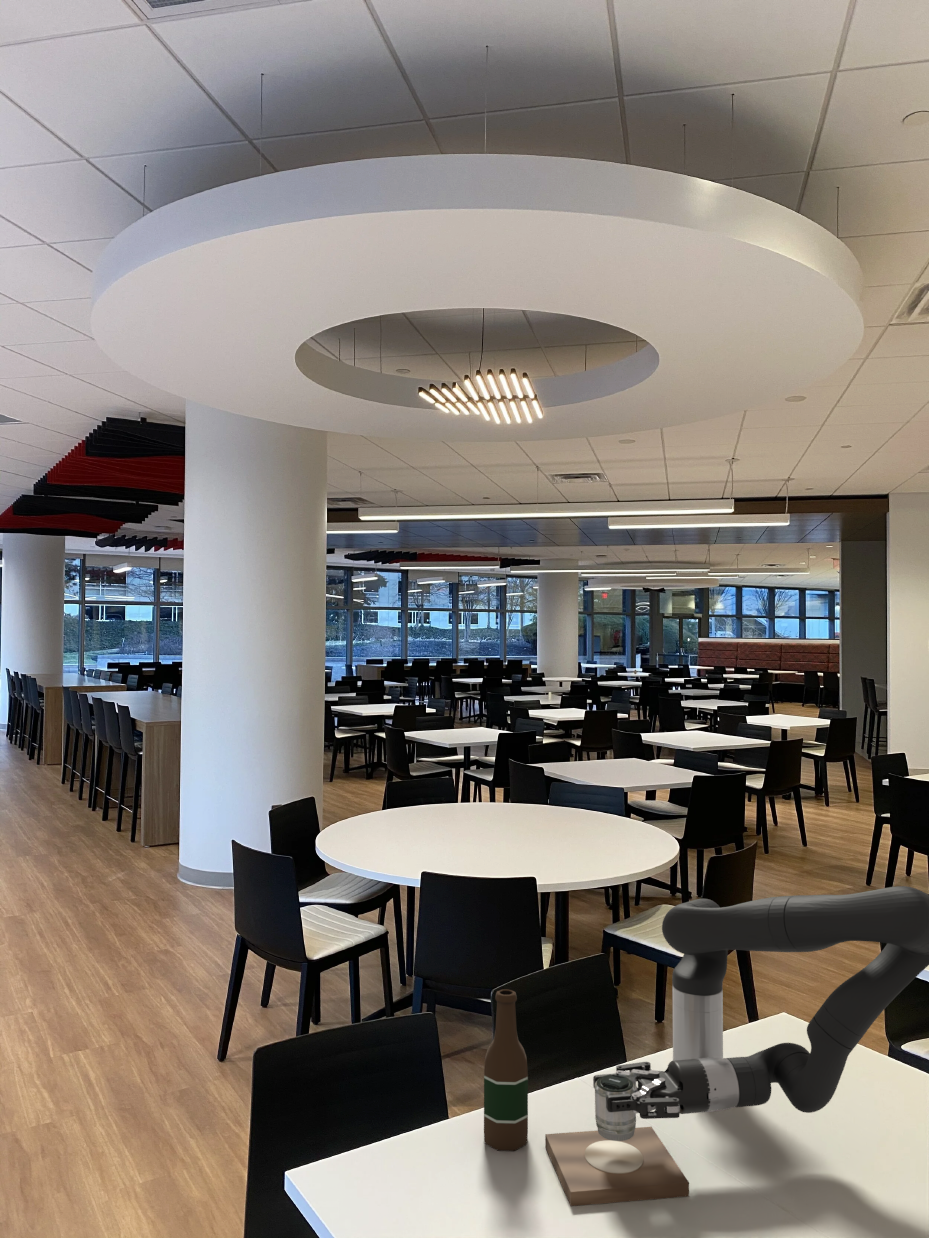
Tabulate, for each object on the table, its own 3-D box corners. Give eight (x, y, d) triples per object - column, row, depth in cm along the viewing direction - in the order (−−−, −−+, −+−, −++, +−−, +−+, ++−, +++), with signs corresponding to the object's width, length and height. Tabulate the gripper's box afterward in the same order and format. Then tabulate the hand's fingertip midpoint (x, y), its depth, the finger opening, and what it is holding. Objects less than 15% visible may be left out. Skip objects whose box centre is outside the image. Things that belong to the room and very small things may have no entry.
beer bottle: (536, 1133, 150) (536, 987, 151) (519, 1157, 143) (519, 1003, 144) (493, 1123, 154) (493, 980, 155) (474, 1145, 147) (475, 996, 148)
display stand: (545, 1146, 146) (545, 1132, 146) (651, 1138, 149) (651, 1125, 149) (570, 1205, 131) (570, 1190, 131) (689, 1196, 133) (688, 1180, 133)
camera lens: (603, 1118, 144) (602, 1067, 144) (641, 1127, 141) (640, 1075, 141) (589, 1136, 138) (588, 1084, 139) (629, 1146, 136) (627, 1092, 136)
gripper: (684, 1041, 149) (586, 1049, 147) (721, 1081, 135) (613, 1090, 133) (685, 1087, 149) (587, 1096, 147) (722, 1132, 135) (614, 1142, 132)
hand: (600, 1093), depth 140 cm, fingers closed on camera lens, 6 cm apart
